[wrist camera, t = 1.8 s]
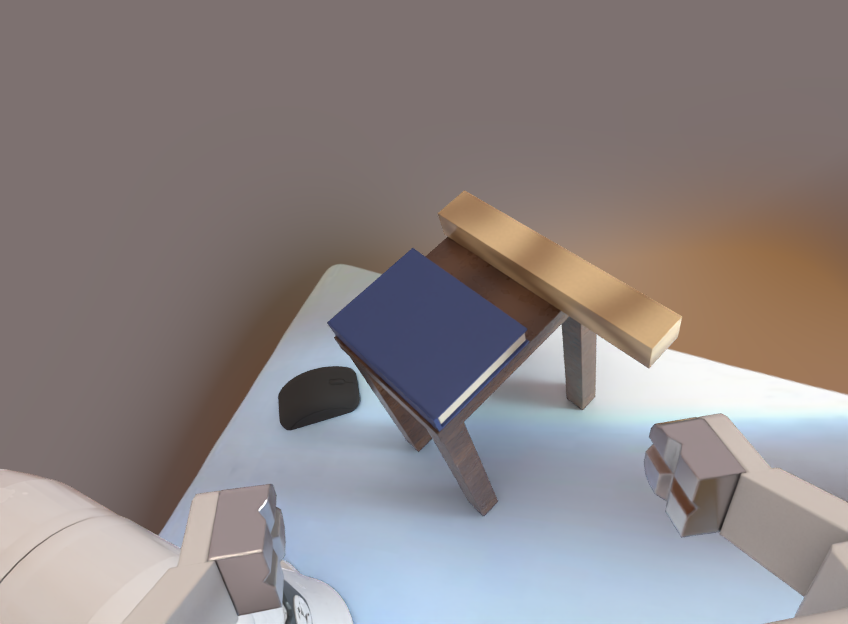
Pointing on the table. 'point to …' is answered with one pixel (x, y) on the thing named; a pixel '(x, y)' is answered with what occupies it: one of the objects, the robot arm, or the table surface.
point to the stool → (539, 326)
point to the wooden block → (563, 279)
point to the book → (429, 336)
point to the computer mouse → (318, 396)
